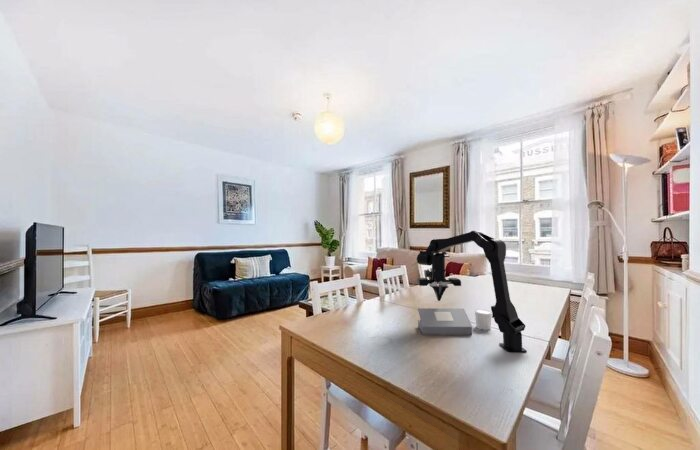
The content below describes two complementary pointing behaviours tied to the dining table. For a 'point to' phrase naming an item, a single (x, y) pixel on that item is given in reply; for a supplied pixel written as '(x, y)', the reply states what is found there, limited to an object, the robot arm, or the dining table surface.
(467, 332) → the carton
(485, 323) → the shot glass
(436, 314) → the lid flap
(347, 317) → the dining table surface
